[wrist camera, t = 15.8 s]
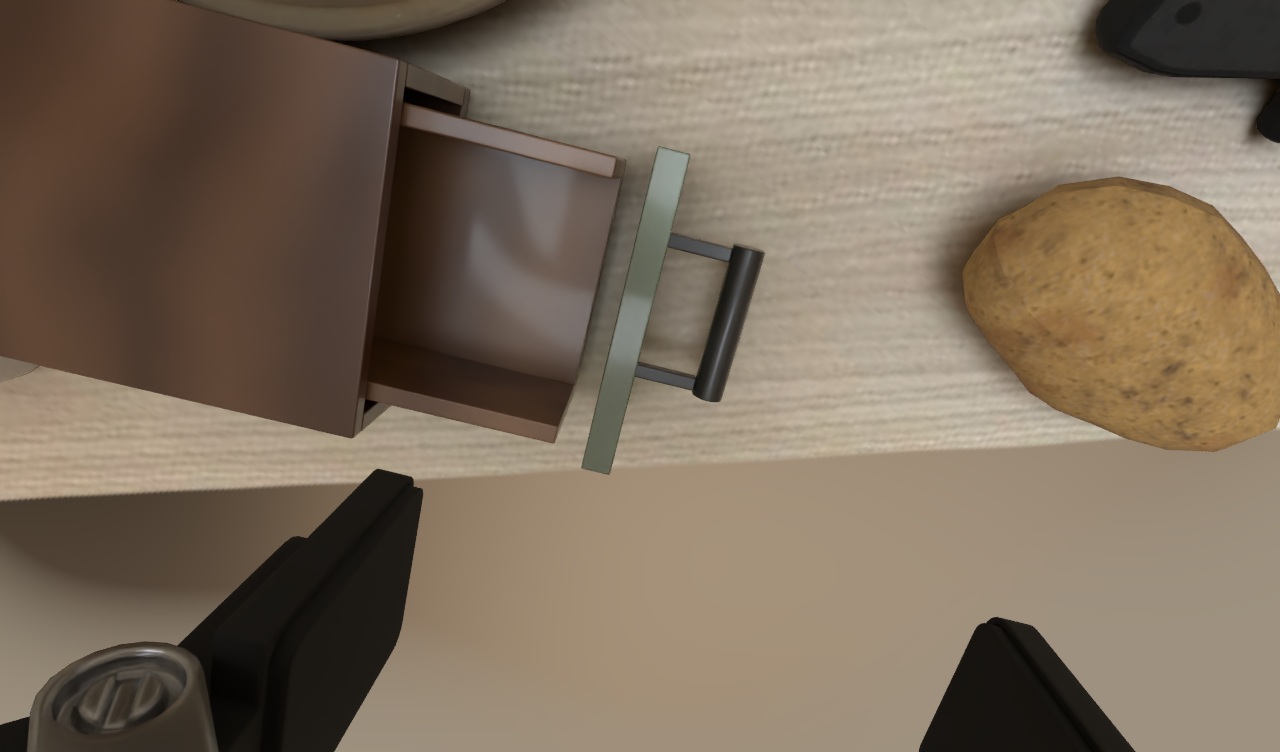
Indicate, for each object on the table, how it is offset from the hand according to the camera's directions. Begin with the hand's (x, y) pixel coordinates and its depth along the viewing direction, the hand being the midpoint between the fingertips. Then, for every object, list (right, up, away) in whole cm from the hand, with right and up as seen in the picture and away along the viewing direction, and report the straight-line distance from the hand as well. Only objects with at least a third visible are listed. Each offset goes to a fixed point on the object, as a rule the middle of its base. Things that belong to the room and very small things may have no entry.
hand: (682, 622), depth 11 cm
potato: (+22, +9, +20) cm, 31 cm away
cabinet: (-17, +12, +21) cm, 30 cm away
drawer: (-5, +9, +21) cm, 23 cm away
